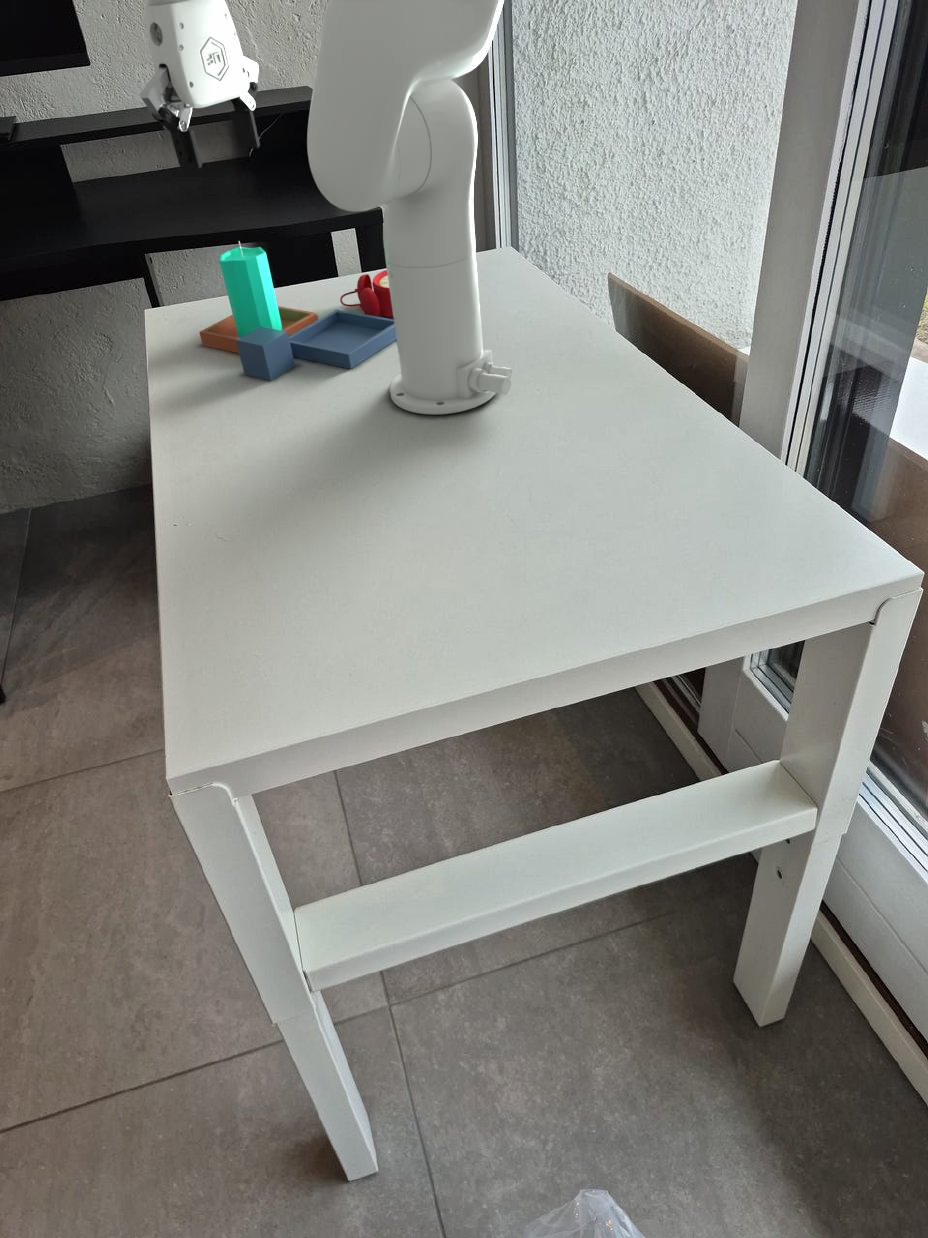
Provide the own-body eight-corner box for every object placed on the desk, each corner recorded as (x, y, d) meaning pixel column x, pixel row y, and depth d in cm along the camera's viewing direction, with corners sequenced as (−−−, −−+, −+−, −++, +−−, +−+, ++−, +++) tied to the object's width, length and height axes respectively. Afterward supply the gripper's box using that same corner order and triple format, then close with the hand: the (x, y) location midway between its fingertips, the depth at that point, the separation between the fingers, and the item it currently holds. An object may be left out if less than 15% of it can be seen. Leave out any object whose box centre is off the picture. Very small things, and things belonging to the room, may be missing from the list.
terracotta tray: (319, 326, 123) (316, 312, 122) (263, 358, 116) (259, 344, 115) (259, 315, 128) (256, 301, 127) (202, 345, 121) (198, 331, 120)
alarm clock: (458, 284, 120) (345, 276, 117) (452, 330, 124) (343, 323, 121) (444, 260, 128) (338, 251, 125) (439, 304, 132) (336, 297, 128)
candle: (273, 341, 119) (252, 248, 112) (231, 341, 120) (207, 249, 113) (288, 323, 124) (269, 232, 116) (248, 324, 125) (226, 234, 117)
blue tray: (404, 334, 118) (402, 320, 117) (351, 369, 111) (348, 354, 110) (338, 322, 123) (336, 309, 122) (284, 354, 117) (280, 340, 115)
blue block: (295, 366, 114) (287, 331, 111) (270, 380, 111) (262, 345, 108) (269, 360, 116) (260, 326, 113) (244, 374, 113) (235, 340, 110)
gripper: (139, -7, 90) (189, 178, 101) (258, -29, 101) (292, 140, 111) (92, -3, 94) (145, 175, 104) (211, -25, 104) (249, 139, 115)
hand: (221, 157), depth 108 cm, fingers open, 9 cm apart
